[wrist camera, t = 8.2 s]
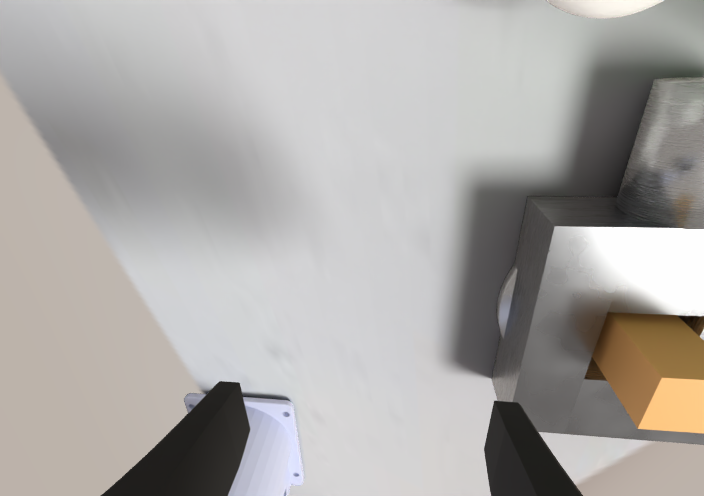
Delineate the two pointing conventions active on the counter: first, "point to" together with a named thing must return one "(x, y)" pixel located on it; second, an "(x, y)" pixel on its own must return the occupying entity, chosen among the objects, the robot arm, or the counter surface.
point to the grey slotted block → (606, 273)
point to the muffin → (603, 7)
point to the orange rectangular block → (654, 369)
